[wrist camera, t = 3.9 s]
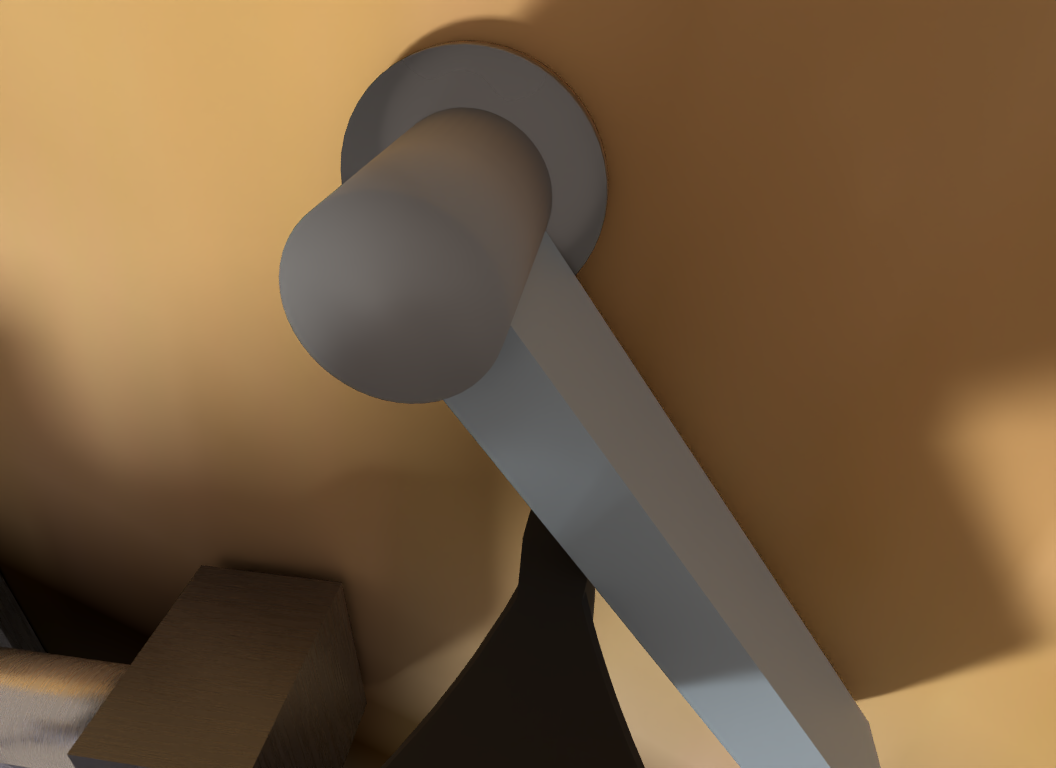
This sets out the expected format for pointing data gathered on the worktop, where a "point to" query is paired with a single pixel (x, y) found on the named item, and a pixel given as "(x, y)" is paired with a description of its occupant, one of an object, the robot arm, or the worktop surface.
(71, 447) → the worktop surface
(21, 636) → the eye bracket
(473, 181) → the grey lever bar
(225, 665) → the hook rod
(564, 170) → the base
